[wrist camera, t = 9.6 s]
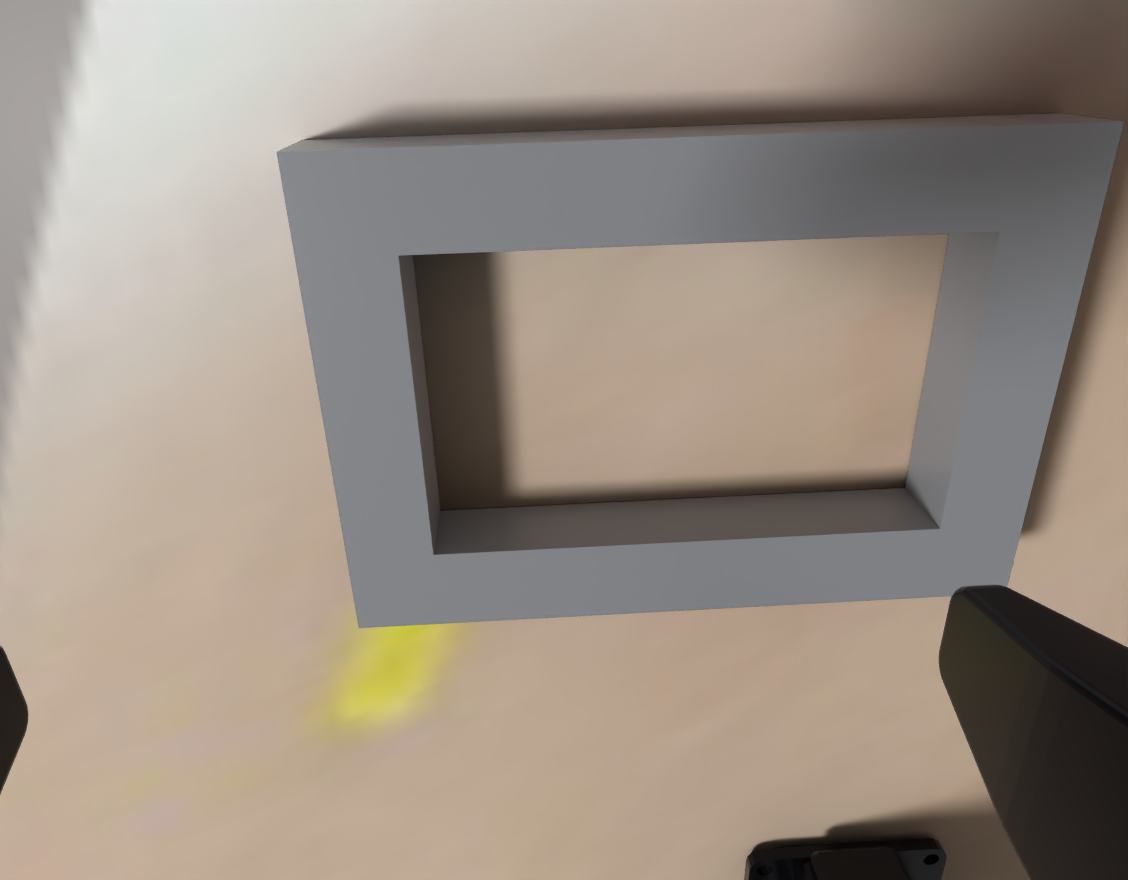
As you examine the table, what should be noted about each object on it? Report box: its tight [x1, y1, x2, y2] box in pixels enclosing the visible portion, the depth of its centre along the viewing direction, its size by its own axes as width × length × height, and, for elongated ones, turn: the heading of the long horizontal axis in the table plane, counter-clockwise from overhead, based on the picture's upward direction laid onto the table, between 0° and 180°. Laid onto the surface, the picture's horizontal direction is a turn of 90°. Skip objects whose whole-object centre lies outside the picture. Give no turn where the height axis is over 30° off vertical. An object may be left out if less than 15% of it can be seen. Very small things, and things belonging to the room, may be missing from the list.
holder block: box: [277, 113, 1124, 628], centre depth 19 cm, size 11×16×2 cm
